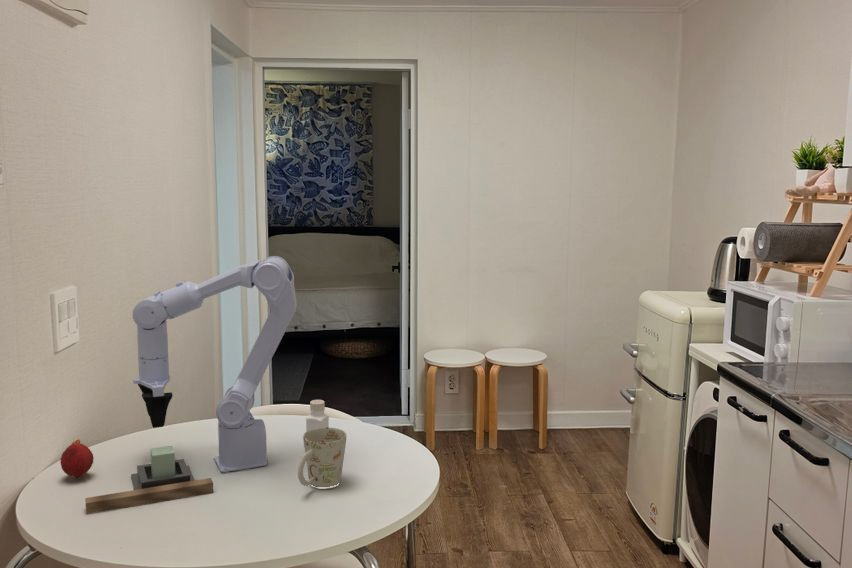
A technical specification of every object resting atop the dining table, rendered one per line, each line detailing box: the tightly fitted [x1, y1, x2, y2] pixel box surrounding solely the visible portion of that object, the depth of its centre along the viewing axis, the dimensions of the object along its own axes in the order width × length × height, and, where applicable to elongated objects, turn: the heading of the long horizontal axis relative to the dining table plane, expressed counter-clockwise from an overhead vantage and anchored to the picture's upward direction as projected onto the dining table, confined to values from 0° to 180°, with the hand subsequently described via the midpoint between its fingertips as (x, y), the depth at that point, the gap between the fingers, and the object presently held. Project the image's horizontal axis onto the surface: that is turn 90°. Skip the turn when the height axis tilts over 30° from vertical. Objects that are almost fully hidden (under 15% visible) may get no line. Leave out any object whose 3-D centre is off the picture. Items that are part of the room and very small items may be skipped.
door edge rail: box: [84, 477, 214, 515], centre depth 137 cm, size 22×2×2 cm, turn 116°
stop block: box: [150, 445, 176, 479], centre depth 145 cm, size 4×4×6 cm
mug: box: [297, 427, 347, 487], centre depth 144 cm, size 8×13×10 cm, turn 155°
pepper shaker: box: [305, 399, 330, 433], centre depth 167 cm, size 4×4×10 cm
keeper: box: [130, 458, 196, 490], centre depth 145 cm, size 11×11×3 cm
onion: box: [59, 438, 95, 479], centre depth 146 cm, size 6×6×8 cm
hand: (156, 420), depth 153 cm, fingers open, 7 cm apart
